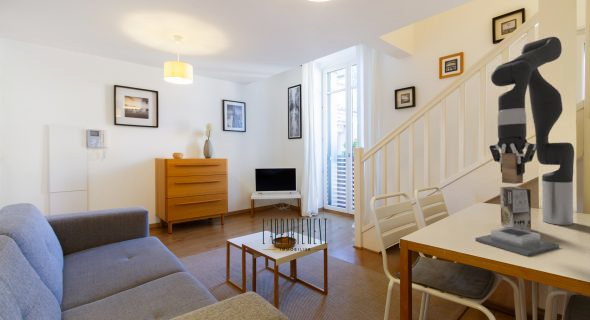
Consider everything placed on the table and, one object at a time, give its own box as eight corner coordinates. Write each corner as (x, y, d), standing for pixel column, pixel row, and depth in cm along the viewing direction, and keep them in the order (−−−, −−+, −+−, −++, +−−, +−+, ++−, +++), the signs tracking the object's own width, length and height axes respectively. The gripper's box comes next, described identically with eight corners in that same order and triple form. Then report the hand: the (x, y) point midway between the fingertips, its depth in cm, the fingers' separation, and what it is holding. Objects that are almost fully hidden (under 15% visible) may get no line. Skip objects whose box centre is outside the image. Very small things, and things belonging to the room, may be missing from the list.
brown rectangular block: (509, 181, 95) (509, 152, 94) (523, 182, 91) (522, 152, 91) (502, 182, 93) (501, 153, 93) (515, 183, 90) (514, 153, 89)
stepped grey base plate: (505, 234, 103) (505, 223, 103) (558, 247, 88) (558, 235, 88) (475, 240, 97) (475, 229, 97) (527, 256, 82) (527, 243, 82)
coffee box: (532, 231, 104) (531, 189, 104) (512, 231, 106) (512, 189, 105) (517, 225, 113) (517, 186, 113) (500, 224, 115) (499, 186, 114)
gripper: (544, 121, 86) (544, 175, 87) (497, 125, 100) (497, 172, 100) (528, 121, 84) (529, 177, 84) (482, 125, 97) (483, 174, 97)
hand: (512, 174), depth 92 cm, fingers closed on brown rectangular block, 4 cm apart
